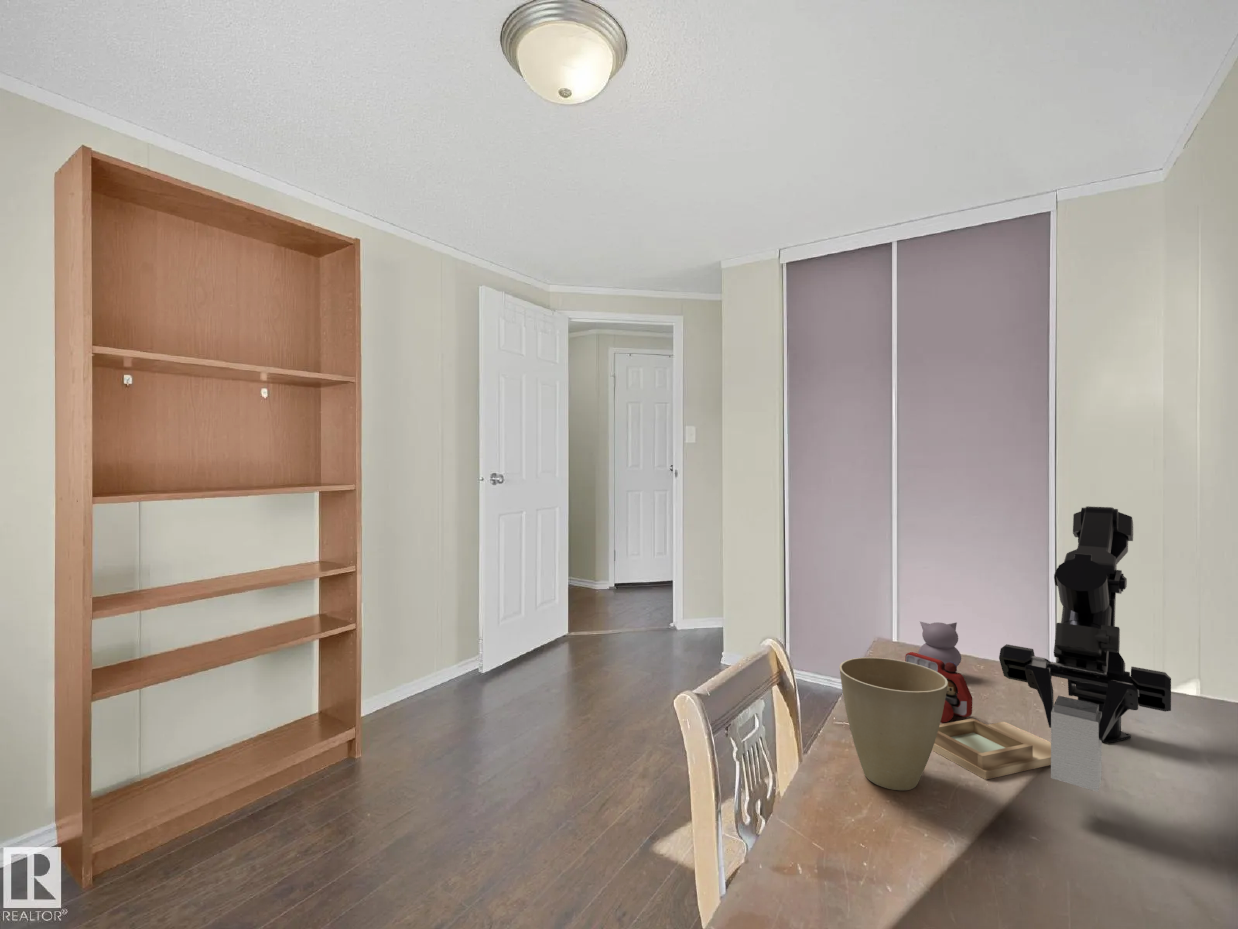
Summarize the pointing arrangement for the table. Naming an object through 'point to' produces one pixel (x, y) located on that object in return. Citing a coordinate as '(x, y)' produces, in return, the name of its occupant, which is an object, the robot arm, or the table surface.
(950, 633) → the cat figurine
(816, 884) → the table surface
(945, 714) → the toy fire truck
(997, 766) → the wooden tray
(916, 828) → the table surface
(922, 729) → the plant pot
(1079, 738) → the grey lidded container
